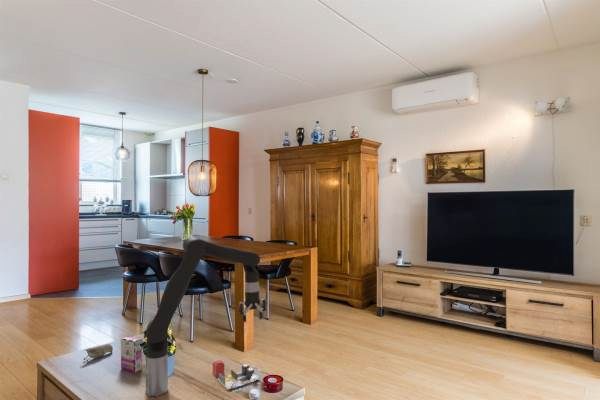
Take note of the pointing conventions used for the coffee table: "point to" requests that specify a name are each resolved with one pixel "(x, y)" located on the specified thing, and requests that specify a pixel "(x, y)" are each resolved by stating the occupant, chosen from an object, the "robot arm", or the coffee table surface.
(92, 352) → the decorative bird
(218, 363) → the cap
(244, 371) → the toggle
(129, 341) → the candy bar box
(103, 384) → the coffee table surface
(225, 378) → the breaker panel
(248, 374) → the toggle
